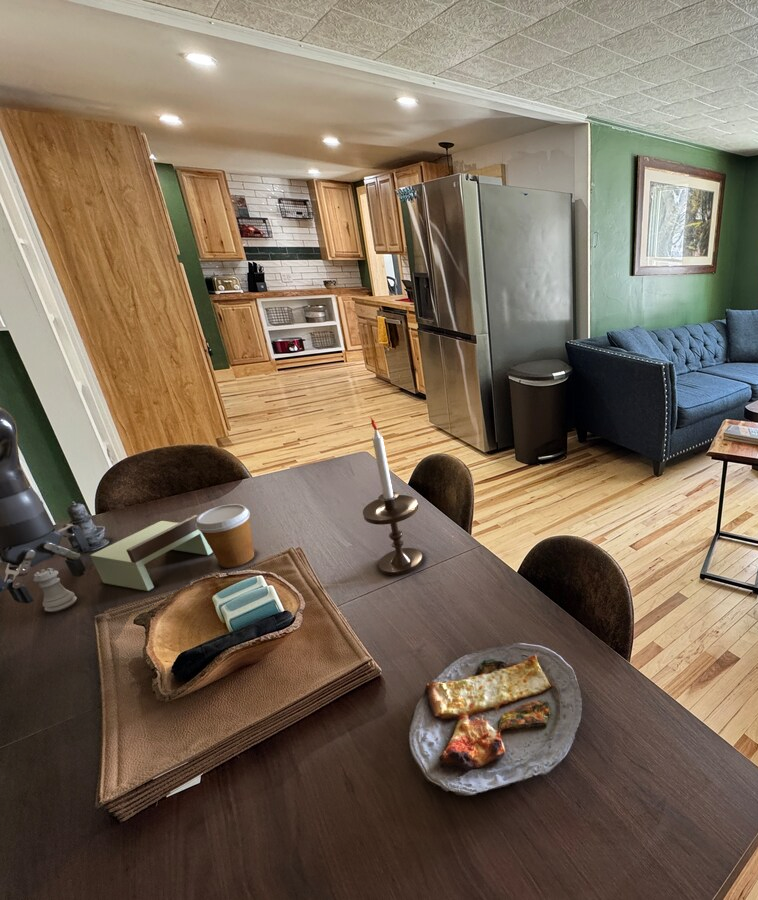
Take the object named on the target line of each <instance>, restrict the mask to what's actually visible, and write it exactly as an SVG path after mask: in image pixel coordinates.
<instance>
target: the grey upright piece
mask: <svg viewBox="0 0 758 900" xmlns="http://www.w3.org/2000/svg"><path fill="white" fill-rule="evenodd" d="M70 504H71V505H69V506H68V507H67V508H66V512H67V514H68V516H69V518H70V520H69V521H68V522H69V524H71V525H76V526H79V527H80V529H81V531H82V533H83V535H84V537H85V539H86V541H87V543H88V545H89V547H90V549H89V551H87V552H86V553H88V552H92V551H93V552H94V551H97V550H99V549H101V548H103V547H105V546H107V545H108V544H109V543H110V540H109V539H107V538H104V537H105V531H106V528H105V526H104V525H103V526H102V525H95V524H94V522H93V520H92V517H93V516H92V514H89V512H88V510H87V508H86V506H85V505H84V504H82V503H76V502H75V501H72V500H71V502H70Z"/></svg>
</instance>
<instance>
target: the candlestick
mask: <svg viewBox="0 0 758 900" xmlns="http://www.w3.org/2000/svg"><path fill="white" fill-rule="evenodd" d="M370 421H371V422H370V423H371V426H372V428H373V430H374V436H372V443H373V449H374V454H375V459H376V464H377V470H378V474H379V479H380V485H381V490H382V493H381V494H380V495H379V496H378V497H377V499H375V500H373V501H371V502H369V503H368V504H367V505H366V506H364V508H363V510H362V517H363V520H364V521H365V522H367V523H369V524H372V525H381V526H382V525H390V529H391V531H390V532H389V534H388V537H389V539H390V540H391V541H392V543H391V547H392V548H394V550H392V551H389V552H388V553H386V554H384V555H383V556H382V557H381V558H380V559H379V562H378V568H379V571H380V572H381V573H382V574H384V575H387V576H393V577H394V576H402V575H405V574H408V573H410V572H413V571H414V570H416V569H418V568H419V567H420V566H421V564H422V563H423V554H422V552H421V551H420V550H419V549H417V548H414V547H413V548H412V547H403V545H404V541H403V540H402V538H403V531H402V530H400V529H399V526H398V523H400V522H403V521H405V520H407V519H409V518H410V517H412V516H414V515H415V514H416V513H417V511H418V510H419V504H418V502H419V501H418V500H417V499H416V497H413V496H411V495H404V494H399V493H398V492H396V491H393V485H392V482H391V476H390V470H389V463H388V460H387V454H386V449H385V443H384V437H383V436H382V435H380V433H379V430H378V425H377V423H375V422H376V420H375V419H374V418H373V417H372V416H370Z"/></svg>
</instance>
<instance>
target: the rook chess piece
mask: <svg viewBox="0 0 758 900" xmlns="http://www.w3.org/2000/svg"><path fill="white" fill-rule="evenodd" d="M58 575H59V571H58V570H55V569H54V568H51V567H48V568H47V569H46V570H45V569H44V568H43V569H40V572H39V571H36V572H35V573H34V575H33V576H34V578H33V582H35V583H39V585H38V587H39V588H41V589H42V592H43V602H42V607H43V608H44V611H45V612H49V613H55V612H59V611H63V610H65V609H68V608H69V607H71V606H73V605H74V604H75V603H76V601H77V599H78V597H77V596H76V595H75V593H74V591H70V590H69V589H66V588H65V587H64V585H63V584H62V583H61V578H60V577H57V576H58Z"/></svg>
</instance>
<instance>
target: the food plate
mask: <svg viewBox="0 0 758 900" xmlns="http://www.w3.org/2000/svg"><path fill="white" fill-rule="evenodd" d="M582 710H583V698H582V692H581V689H580V686H579V683H578V679H577V676H576V672H575V670H574V668H573V667H572V666H571V665H570V663H568V662H567V661H566V660H564V658H563V657H562V656H561V655H560V654H557V652H555V651H554V650H552V649H551V648H548V647H545V646H542V645H539V644H534V643H533V644H529V643H524V642H517V641H515V642H509V643H504V644H500V645H496V646H492V647H488V648H484V649H481V650H477V651H474V652H471V653H467V654H465V655H463V656H461V657H459V658H457V659H456V660H454V661H452V662H451V663H450V664H449V665H448V666H446V667H445V668H444V669H443V670H442V671H441V672H440V673H439V674H438V675H436V677H435V678H434V679H432V680H430V681H429V683H426V684H425V688H424V691H423V693H422V694H421V697H420V698H419V699H418V701H417V703H416V704H415V706H414V711H413V713H412V715H411V720H410V725H409V729H408V737H407V738H408V739H407V740H408V742H407V744H408V752H409V755H410V756H411V759H412V761H413V762H414V764H415V765H416V766H417V768H418V769H419V771H420V773H421V775H422V778H423V780H425V781H426V782H428V784H429V785H431V786H434V787H435V790H438V787H439V788H440V789H441V791H444V792H450V791H451V792H453V793H454V795H455V796H460V797H462V796H465V797H466V796H475V795H476V796H477V795H478V793H480V794H481V793H485V792H487V791H492V790H496V789H499V788H502V787H507V786H510V785H511V784H514V783H520V782H524V781H525V780H527V779H530V778H533V777H534V776H543V775H547V774H548V773H550V772H551V771H552V770H553V769H555V768H556V766H557V765H559V764H560V763H561V762H562V760H563V759H564V758H565V757H566V756H567V754H568V753H569V751H570V750H571V748H572V747H573V746H572V744H573V743H574V741H575V739H576V737H575V736H576V732H577V731H578V729H579V726H580V723H581V719H582V715H583V714H582Z"/></svg>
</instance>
